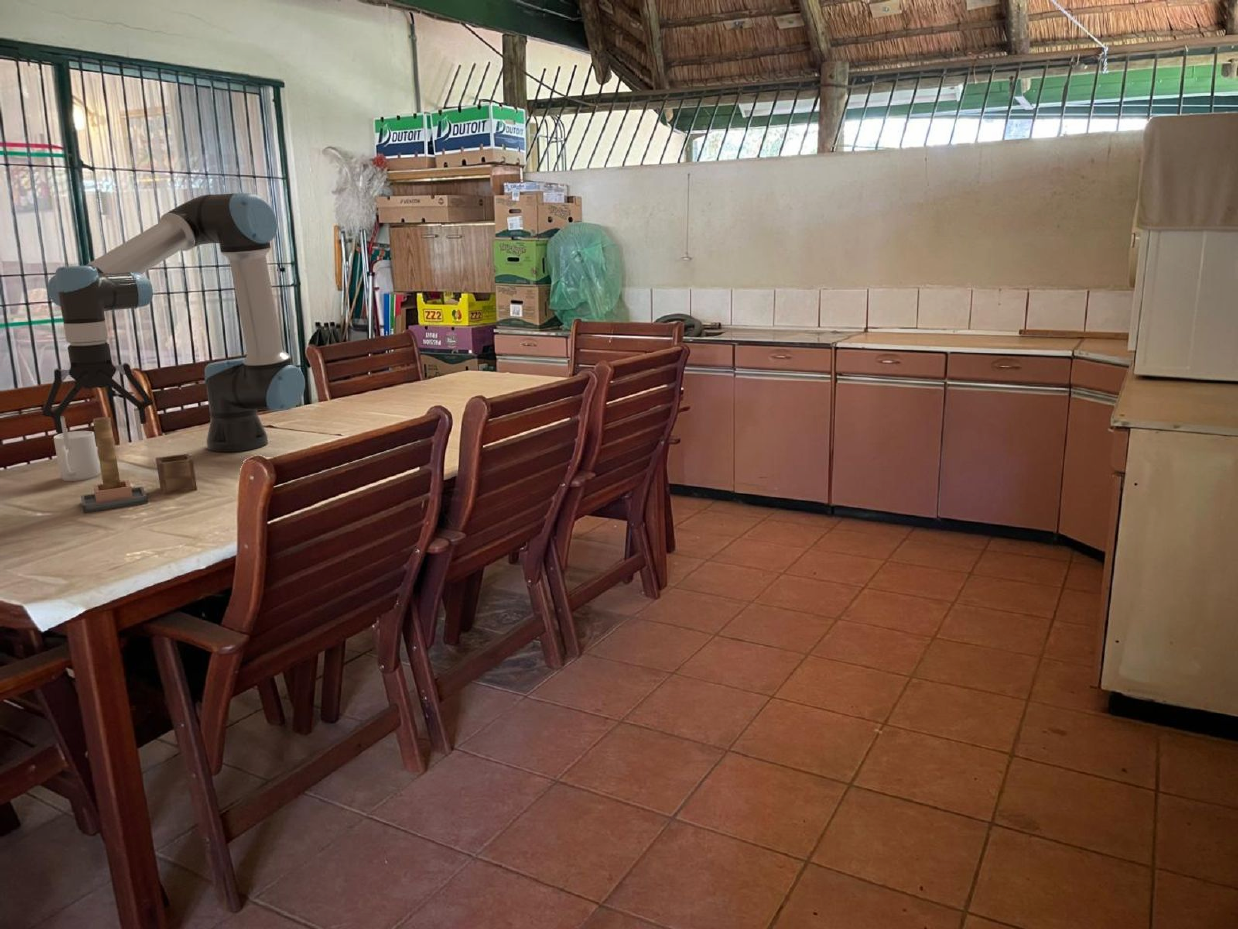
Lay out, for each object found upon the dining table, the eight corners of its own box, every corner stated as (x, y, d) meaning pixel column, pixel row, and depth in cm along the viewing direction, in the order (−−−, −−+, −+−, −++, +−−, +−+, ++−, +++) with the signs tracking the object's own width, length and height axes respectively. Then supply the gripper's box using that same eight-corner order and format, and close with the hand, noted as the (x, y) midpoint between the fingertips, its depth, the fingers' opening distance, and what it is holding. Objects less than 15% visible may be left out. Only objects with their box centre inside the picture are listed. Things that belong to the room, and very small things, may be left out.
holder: (130, 493, 202) (128, 479, 201) (133, 500, 196) (131, 486, 196) (95, 498, 199) (93, 484, 198) (97, 506, 193) (94, 492, 192)
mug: (85, 484, 213) (77, 441, 210) (47, 486, 212) (39, 443, 209) (106, 471, 224) (99, 430, 221) (70, 473, 223) (62, 431, 220)
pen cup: (192, 482, 212) (188, 453, 210) (197, 489, 206) (192, 459, 205) (160, 487, 209) (155, 457, 207) (163, 494, 203) (159, 464, 201)
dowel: (121, 493, 199) (109, 416, 195) (122, 497, 197) (110, 419, 193) (104, 496, 198) (92, 418, 194) (105, 499, 195) (93, 420, 191)
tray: (143, 493, 204) (142, 486, 204) (147, 503, 197) (146, 496, 197) (81, 502, 198) (80, 495, 198) (83, 513, 191) (82, 505, 191)
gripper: (153, 336, 198) (167, 432, 204) (16, 346, 186) (35, 448, 191) (157, 339, 192) (171, 438, 197) (15, 350, 180) (35, 455, 185)
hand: (104, 443), depth 194 cm, fingers open, 13 cm apart
